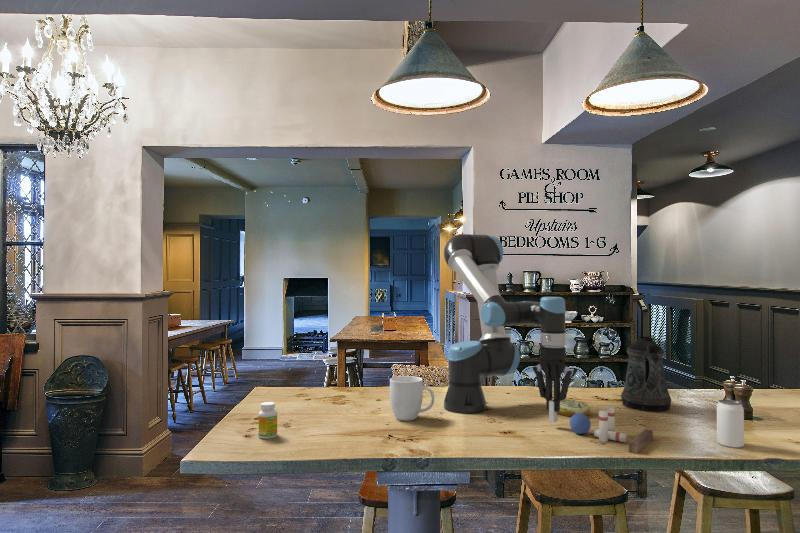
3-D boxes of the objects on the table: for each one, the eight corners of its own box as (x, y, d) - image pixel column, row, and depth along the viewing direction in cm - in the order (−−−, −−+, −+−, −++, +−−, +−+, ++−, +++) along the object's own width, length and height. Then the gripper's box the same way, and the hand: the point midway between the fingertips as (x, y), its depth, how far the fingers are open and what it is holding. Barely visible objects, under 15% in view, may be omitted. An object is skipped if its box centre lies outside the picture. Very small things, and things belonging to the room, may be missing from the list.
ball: (589, 426, 151) (579, 440, 154) (597, 420, 156) (587, 434, 158) (572, 412, 155) (562, 426, 157) (580, 406, 159) (571, 421, 161)
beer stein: (646, 399, 199) (646, 334, 199) (689, 412, 181) (688, 340, 181) (611, 402, 194) (610, 335, 194) (651, 416, 176) (651, 342, 176)
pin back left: (604, 436, 154) (604, 407, 154) (607, 434, 156) (607, 405, 156) (613, 437, 152) (613, 408, 153) (616, 435, 154) (615, 407, 154)
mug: (432, 413, 179) (432, 375, 179) (436, 422, 168) (436, 382, 168) (389, 413, 178) (389, 375, 178) (389, 423, 167) (390, 382, 167)
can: (711, 441, 149) (711, 399, 150) (732, 440, 150) (732, 398, 150) (727, 448, 143) (727, 405, 143) (749, 448, 144) (749, 404, 144)
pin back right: (597, 441, 149) (597, 411, 150) (600, 438, 151) (600, 409, 151) (606, 442, 148) (606, 412, 148) (609, 440, 150) (609, 411, 150)
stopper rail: (628, 452, 140) (628, 442, 140) (645, 437, 153) (645, 429, 153) (636, 453, 139) (636, 444, 139) (653, 439, 151) (652, 430, 151)
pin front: (593, 432, 152) (623, 438, 147) (596, 426, 154) (625, 431, 148) (595, 438, 153) (625, 444, 148) (597, 432, 155) (627, 438, 149)
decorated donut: (584, 420, 171) (584, 408, 171) (549, 415, 178) (549, 403, 178) (593, 412, 180) (593, 401, 180) (560, 407, 187) (560, 396, 187)
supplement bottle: (267, 440, 150) (267, 406, 150) (254, 437, 153) (254, 404, 153) (281, 435, 155) (281, 402, 155) (268, 432, 157) (268, 400, 158)
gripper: (528, 345, 164) (528, 420, 164) (568, 349, 156) (568, 428, 155) (538, 343, 170) (538, 415, 170) (577, 346, 162) (578, 422, 161)
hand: (553, 421), depth 163 cm, fingers closed
